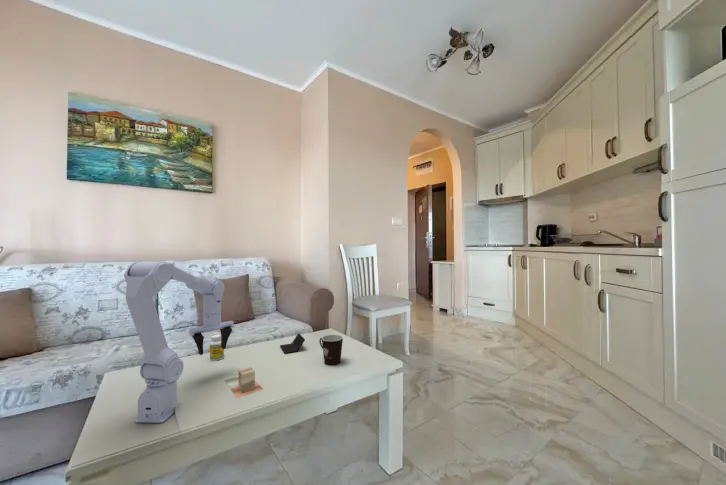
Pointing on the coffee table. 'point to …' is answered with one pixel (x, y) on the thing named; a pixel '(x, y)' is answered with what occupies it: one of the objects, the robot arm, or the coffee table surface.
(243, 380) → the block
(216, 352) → the supplement bottle
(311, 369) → the coffee table surface
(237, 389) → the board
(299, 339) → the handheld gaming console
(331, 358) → the coffee mug
